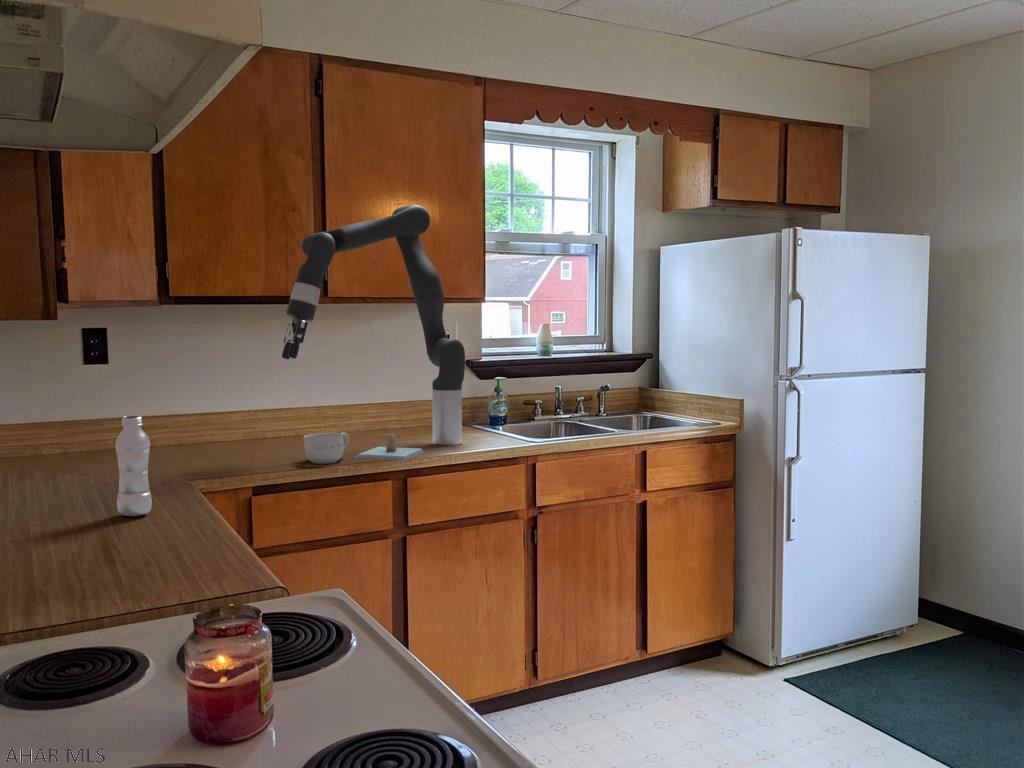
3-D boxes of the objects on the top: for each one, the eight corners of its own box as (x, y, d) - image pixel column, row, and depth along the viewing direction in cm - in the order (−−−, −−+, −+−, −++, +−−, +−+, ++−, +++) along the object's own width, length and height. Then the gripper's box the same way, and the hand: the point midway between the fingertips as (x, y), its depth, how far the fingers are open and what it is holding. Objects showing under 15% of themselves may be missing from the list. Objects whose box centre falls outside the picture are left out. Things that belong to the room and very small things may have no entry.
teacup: (314, 467, 225) (314, 437, 224) (297, 462, 233) (296, 433, 233) (361, 462, 234) (360, 433, 233) (342, 457, 242) (342, 429, 242)
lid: (378, 449, 254) (378, 430, 253) (422, 451, 250) (422, 431, 249) (358, 456, 240) (358, 436, 240) (404, 459, 236) (404, 438, 236)
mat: (376, 450, 255) (376, 448, 255) (426, 452, 251) (426, 451, 251) (353, 458, 239) (353, 457, 239) (406, 461, 235) (406, 459, 235)
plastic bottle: (142, 510, 175) (139, 414, 173) (158, 515, 171) (155, 416, 169) (110, 516, 170) (107, 417, 168) (127, 521, 166) (123, 419, 164)
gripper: (323, 304, 230) (307, 361, 229) (310, 307, 243) (296, 362, 241) (296, 295, 227) (280, 353, 225) (285, 300, 240) (270, 355, 238)
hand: (288, 358), depth 233 cm, fingers open, 8 cm apart
